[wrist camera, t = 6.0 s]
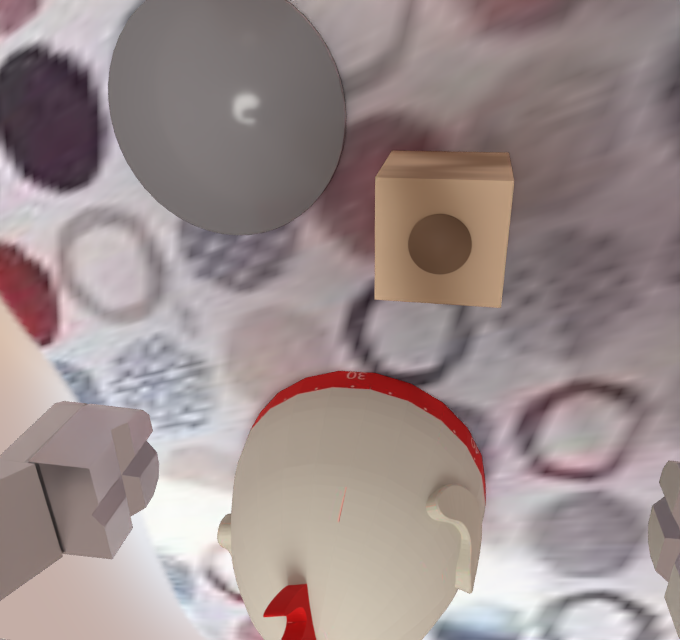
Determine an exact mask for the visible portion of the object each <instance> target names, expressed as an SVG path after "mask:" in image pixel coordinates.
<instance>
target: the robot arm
mask: <svg viewBox="0 0 680 640" xmlns="http://www.w3.org/2000/svg"><path fill="white" fill-rule="evenodd" d="M152 432H153V429H152V425H151V421H150V417H149V414H147V413H146V412H145V411H143V410H139V409H130V408H122V407H113V406H105V405H97V404H86V403H77V402H66V401H63V402H59V403H55V404H54V405H53V406H52V407H51V408H50V409H49V410H47V411H46V413H44V414H43V415H42V416H41V417H40V418H39V419H38V420H37V421H36V422H35V423H34V424H33V425H32V426H31V427H30V428H29V429H27V430H26V431H25V432H24V433H23V434H22V435H21V436H20V437H19V438H18V439H17V440H16V441H15V442H14V443H13V444H12V445H10V446H9V447H8V448H7V449H6V450H5V451H4V452H3V453H2V454H1V455H0V601H1V600H2V599H3V598H5V597H6V596H8V595H9V594H11V593H12V592H13V591H15V590H16V589H18V588H19V587H20V586H22V585H23V584H25V583H26V582H27V581H29V580H30V579H32V578H33V577H35V576H36V575H37V574H39V573H40V572H42V571H43V570H45V569H46V568H47V567H49V566H50V565H52V564H53V563H54V562H56V561H57V560H59V559H60V558H61V557H62V554H69V555H79V556H88V557H97V558H106V559H113V557H114V556H115V554H116V553H117V551H118V550H119V548H120V547H121V545H122V544H123V542H124V541H125V539H126V538H127V536H128V534H129V533H130V531H131V530H132V528H133V526H132V522H131V516H132V515H134V514H136V513H137V512H139V511H141V510H143V509H144V508H146V506H147V505H148V503H149V501H150V500H151V498H152V497H153V495H154V492H155V488H156V485H157V481H158V478H159V461H158V456H157V452H156V451H155V450H154V449H153V447H152V446H151V445H150V444H149V443H148V442H147V441H146V440H147V439H148V437H149V436H150V435H151V433H152ZM659 483H660V486H661V488H662V491H663V493H664V495H665V497H663V498H662V499H661V500H659V501H658V502H657V503H655V504H654V505H653V506H652V510H651V514H650V518H649V523H648V544H649V550H650V556H651V559H652V562H653V565H654V568H655V571H656V572H657V573H659V574H660V575H661V576H662V577H663V578H664V579H665V580H666V581H668V582H669V583H668V586H667V590H666V593H665V596H664V597H665V600H666V603H667V606H668V609H669V611H670V614H671V617H672V620H673V623H674V626H675V628H676V631H677V634H678V637H679V639H680V462H679V461H668V462H667V463H666V465H665V466H664V468H663V471H662V474H661V477H660V481H659ZM0 640H8V639H2V638H0Z"/></svg>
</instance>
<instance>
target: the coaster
mask: <svg viewBox="0 0 680 640" xmlns="http://www.w3.org/2000/svg"><path fill="white" fill-rule="evenodd" d="M108 100H109V108H110V116H111V120H112V124H113V128H114V132H115V135H116V138H117V141H118V144H119V146H120V149H121V151H122V153H123V155H124V157H125V159H126V161H127V163H128V165H129V166H130V168H131V170H132V171H133V173H134V174H135V176H136V177H137V179H138V180H139V181H140V183H141V184H142V185H143V186H144V188H145V189H146V190H147V191H148V192H149V193H150V194H151V195H152V196H153V197H154V198H155V199H156V200H157V201H158V202H159V203H160V204H161V205H163V206H164V207H165V208H166V209H167V210H169V211H170V212H172V213H173V214H175V215H176V216H178V217H179V218H181V219H183V220H185V221H187V222H189V223H191V224H192V225H195V226H197V227H200V228H203V229H205V230H208V231H212V232H217V233H221V234H229V235H252V234H258V233H264V232H267V231H270V230H273V229H277V228H279V227H281V226H283V225H285V224H287V223H289V222H291V221H292V220H294V219H295V218H297V217H298V216H300V215H301V214H302V213H303V212H305V211H306V210H307V209H308V208H309V207H310V206H311V205H312V204H313V203H314V202H315V201H316V199H317V198H318V197H319V196H320V195H321V194H322V192H323V191H324V190H325V188H326V187H327V185H328V183H329V182H330V180H331V179H332V177H333V175H334V172H335V170H336V168H337V166H338V163H339V160H340V157H341V154H342V150H343V146H344V140H345V134H346V105H345V96H344V91H343V87H342V82H341V78H340V75H339V72H338V69H337V67H336V64H335V61H334V59H333V57H332V55H331V53H330V51H329V49H328V47H327V45H326V44H325V42H324V41H323V39H322V37H321V36H320V34H319V33H318V31H317V30H316V29H315V28H314V26H313V25H312V24H311V23H310V21H309V20H308V19H307V18H306V17H305V16H304V15H303V14H302V13H301V12H300V11H299V10H298V9H297V8H296V7H295V6H293V5H292V4H291V3H290V2H288V1H287V0H146V1H145V2H144V3H143V4H142V5H141V6H140V7H139V8H138V9H137V10H136V11H135V12H134V14H133V15H132V16H131V18H130V19H129V20H128V22H127V23H126V25H125V27H124V29H123V31H122V32H121V34H120V36H119V38H118V41H117V44H116V47H115V49H114V52H113V56H112V61H111V65H110V71H109V81H108Z"/></svg>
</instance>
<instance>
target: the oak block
mask: <svg viewBox="0 0 680 640" xmlns="http://www.w3.org/2000/svg"><path fill="white" fill-rule="evenodd" d="M513 188H514V177H513V172H512V167H511V161H510V156H509V153H501V152H447V151H393V150H392V151H391V153H390V155H389V156H388V158H387V159H386V161H385V163H384V164H383V166H382V167H381V169H380V170H379V172H378V174H377V175H376V177H375V300H389V301H404V302H420V303H435V304H450V305H466V306H481V307H496V308H501V301H502V292H503V282H504V273H505V263H506V254H507V245H508V235H509V226H510V216H511V207H512V197H513Z"/></svg>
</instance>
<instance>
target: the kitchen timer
mask: <svg viewBox="0 0 680 640" xmlns="http://www.w3.org/2000/svg"><path fill="white" fill-rule="evenodd" d="M485 505H486V489H485V477H484V469H483V462H482V455H481V453H480V451H479V449H478V447H477V446H476V444H475V442H474V440H473V438H472V436H471V434H470V432H469V430H468V428H467V427H466V426H465V425H464V424H463V423H462V422H461V421H460V420H459V419H458V418H457V417H456V416H455V415H454V413H453V412H452V411H451V410H450V409H449V408H448V407H447V406H446V405H445V404H444V403H443V402H441V401H439V400H438V399H436V398H434V397H432V396H431V395H429V394H427V393H426V392H424V391H422V390H421V389H419V388H417V387H416V386H414V385H412V384H410V383H407V382H403V381H400V380H397V379H394V378H390V377H387V376H384V375H380V374H377V373H367V372H348V371H336V372H332V373H327V374H322V375H317V376H312V377H307V378H304V379H303V380H301V381H299V382H297V383H295V384H293V385H292V386H290V387H288V388H286V389H284V390H282V391H280V392H279V393H278V394H277V395H276V396H275V397H274V398H273V399H272V400H271V401H270V402H269V404H268V405H267V406H266V407H265V408H264V409H263V410H262V411H261V412H260V414H259V416H258V417H257V419H256V421H255V423H254V425H253V427H252V428H251V430H250V433H249V435H248V438H247V441H246V443H245V446H244V448H243V451H242V453H241V456H240V459H239V461H238V465H237V468H236V472H235V479H234V487H233V498H232V511H231V514H227V515H226V516H225V517H224V518H223V519H222V521H221V523H220V525H219V528H218V534H217V539H218V543H219V544H220V546H222V547H223V548H226V549H227V550H228V551H229V553H230V554H231V556H232V563H233V569H234V573H235V577H236V581H237V585H238V588H239V591H240V593H241V596H242V598H243V601H244V604H245V606H246V609H247V612H248V614H249V616H250V618H251V621H252V622H253V624H254V626H255V628H256V629H257V631H258V632H259V634H260V635H261V636H262V637H263V639H264V640H422V639H423V638H424V637H425V636H426V634H427V633H428V632H429V631H430V630H431V628H432V627H433V626H434V625H435V623H436V622H437V621H438V619H439V618H440V617H441V615H442V614H443V613H444V611H445V610H446V609H447V607H448V606H449V604H450V603H451V601H452V600H453V598H454V596H455V595H456V593H457V590H458V589H460V590H462V591H465V592H467V593H469V594H470V593H472V591H473V586H474V581H475V576H476V571H477V566H478V560H479V554H480V548H481V539H482V521H483V517H484V512H485Z"/></svg>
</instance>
